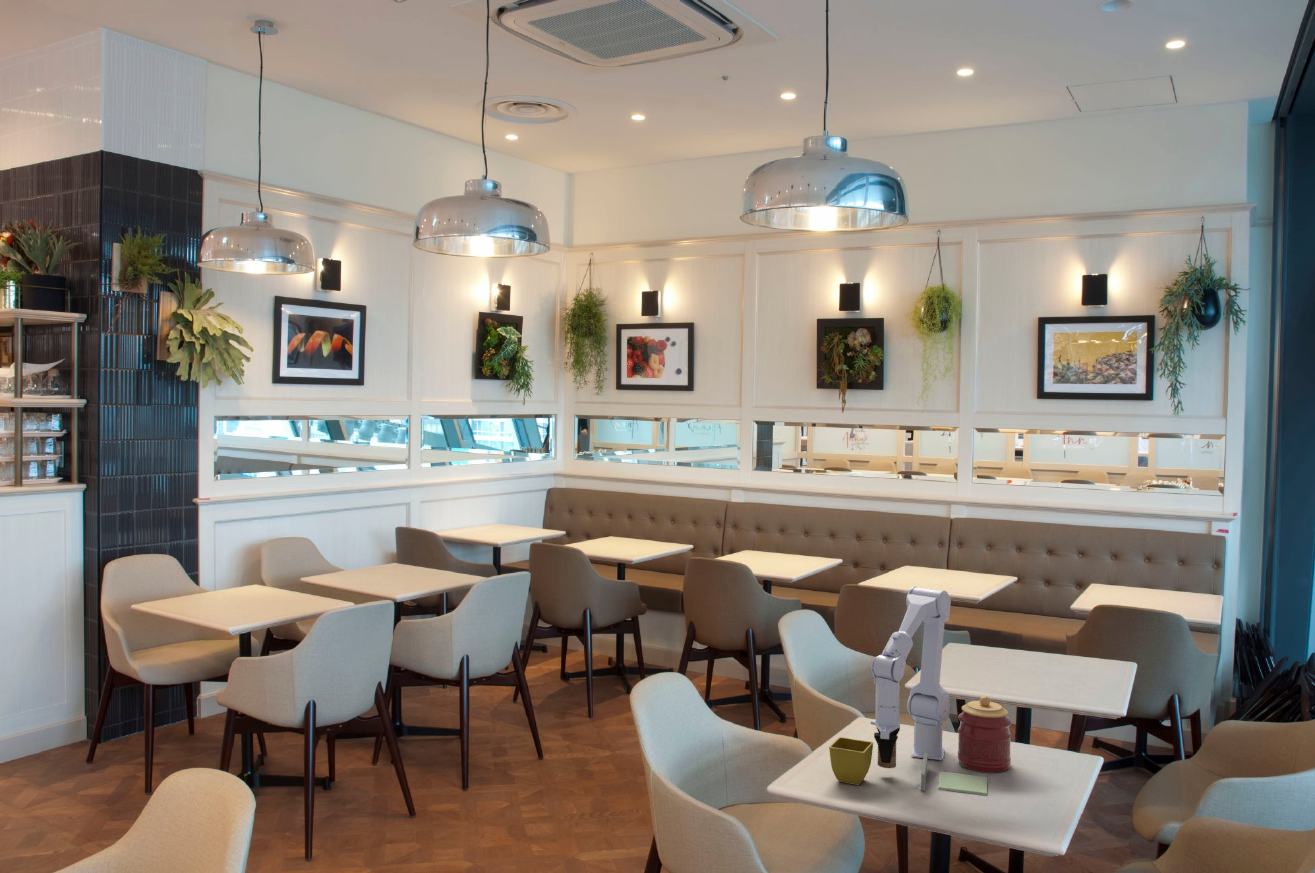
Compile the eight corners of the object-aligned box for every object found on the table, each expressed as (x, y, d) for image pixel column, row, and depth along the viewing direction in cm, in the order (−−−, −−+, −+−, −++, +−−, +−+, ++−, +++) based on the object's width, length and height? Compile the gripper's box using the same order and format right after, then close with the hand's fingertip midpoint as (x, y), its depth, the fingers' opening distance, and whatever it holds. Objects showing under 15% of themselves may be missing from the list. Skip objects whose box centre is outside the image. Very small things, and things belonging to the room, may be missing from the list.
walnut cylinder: (878, 760, 241) (878, 737, 241) (896, 762, 240) (896, 738, 240) (876, 766, 237) (877, 742, 237) (895, 768, 236) (895, 744, 236)
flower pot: (827, 783, 233) (828, 746, 233) (838, 771, 241) (839, 736, 241) (863, 790, 229) (864, 752, 229) (873, 778, 237) (873, 741, 237)
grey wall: (924, 768, 244) (924, 752, 244) (927, 768, 244) (927, 752, 244) (920, 790, 229) (921, 774, 229) (924, 791, 229) (924, 774, 229)
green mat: (939, 773, 241) (939, 771, 241) (986, 778, 237) (986, 776, 237) (938, 789, 230) (938, 787, 230) (986, 795, 227) (987, 792, 227)
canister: (947, 763, 248) (948, 695, 248) (974, 752, 256) (975, 686, 256) (994, 777, 238) (995, 706, 238) (1020, 765, 247) (1021, 697, 247)
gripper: (873, 694, 246) (873, 747, 247) (867, 711, 233) (867, 767, 233) (902, 697, 244) (901, 750, 244) (897, 714, 230) (897, 770, 231)
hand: (886, 759), depth 238 cm, fingers closed on walnut cylinder, 4 cm apart
